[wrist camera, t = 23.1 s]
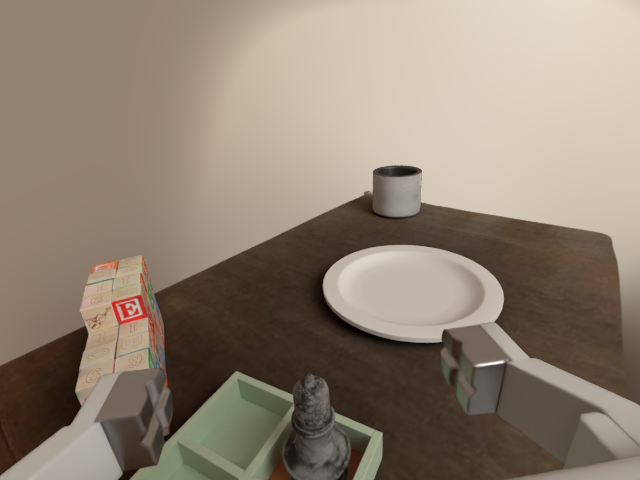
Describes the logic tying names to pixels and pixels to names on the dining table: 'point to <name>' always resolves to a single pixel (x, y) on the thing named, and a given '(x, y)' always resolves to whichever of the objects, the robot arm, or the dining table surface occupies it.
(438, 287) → the plate
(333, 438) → the grey chess piece
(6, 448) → the dining table surface
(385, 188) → the planter
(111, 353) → the stack of blocks
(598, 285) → the dining table surface
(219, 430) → the grid
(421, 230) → the dining table surface
